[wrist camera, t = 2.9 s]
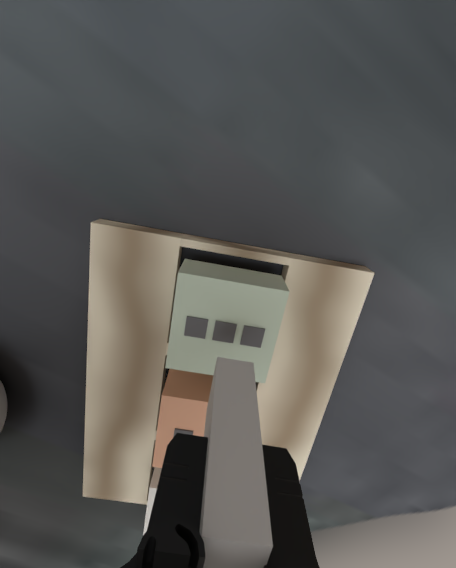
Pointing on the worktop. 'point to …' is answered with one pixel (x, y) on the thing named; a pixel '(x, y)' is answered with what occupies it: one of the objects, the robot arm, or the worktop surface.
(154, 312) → the board
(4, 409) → the pump dispenser
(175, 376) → the tile two
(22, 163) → the worktop surface
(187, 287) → the tile three
